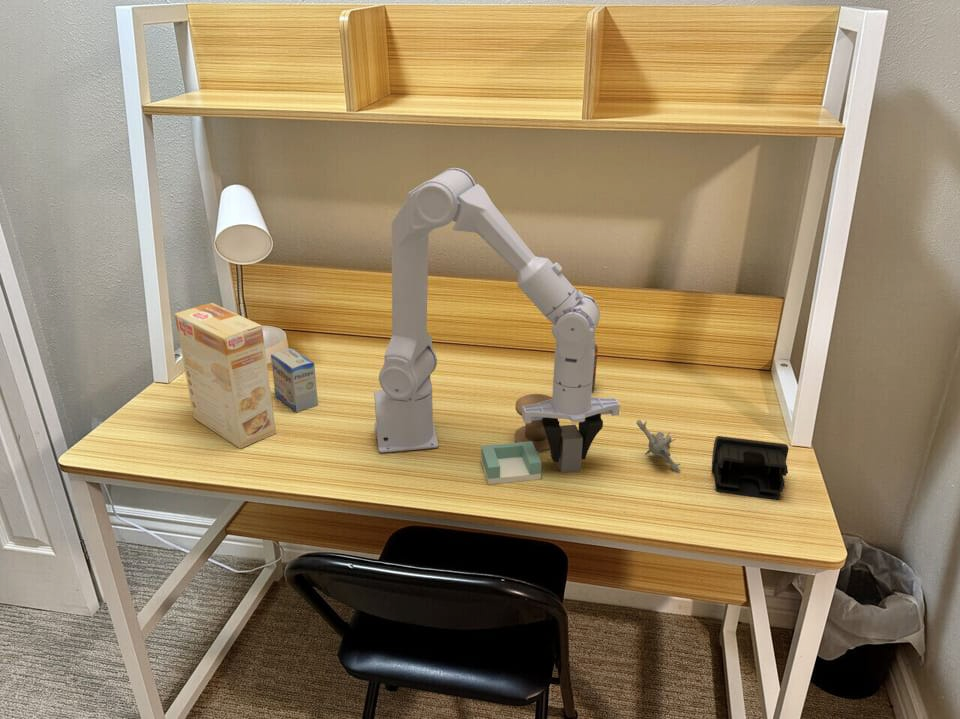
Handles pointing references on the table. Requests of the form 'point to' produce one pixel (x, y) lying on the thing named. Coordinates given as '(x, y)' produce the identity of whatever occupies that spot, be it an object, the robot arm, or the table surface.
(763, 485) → the end cap
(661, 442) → the grey animal figure
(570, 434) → the plug
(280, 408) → the table surface
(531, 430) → the bobbin
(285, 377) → the medicine box
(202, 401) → the coffeecake box
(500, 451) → the notch board
